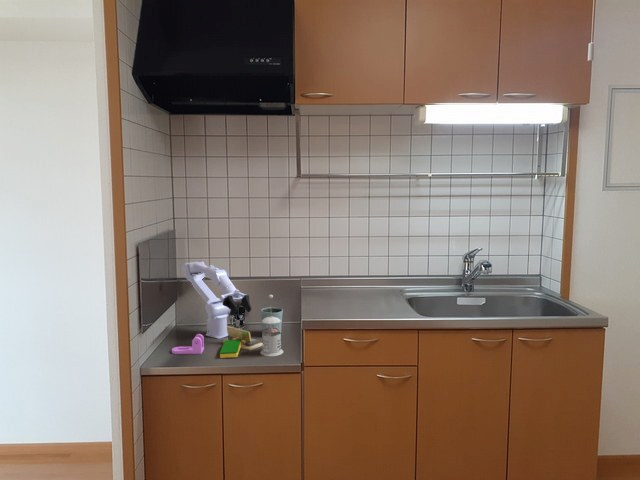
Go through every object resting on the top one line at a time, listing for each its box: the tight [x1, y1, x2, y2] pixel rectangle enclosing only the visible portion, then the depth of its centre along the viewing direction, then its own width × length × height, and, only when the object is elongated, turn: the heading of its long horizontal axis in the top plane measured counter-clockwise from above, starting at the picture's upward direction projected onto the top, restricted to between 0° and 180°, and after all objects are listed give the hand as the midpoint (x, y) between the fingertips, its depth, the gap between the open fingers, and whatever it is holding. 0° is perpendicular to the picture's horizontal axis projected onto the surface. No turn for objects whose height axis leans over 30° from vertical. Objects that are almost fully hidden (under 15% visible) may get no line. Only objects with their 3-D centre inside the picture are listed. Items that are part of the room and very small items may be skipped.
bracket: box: [171, 333, 205, 355], centre depth 209 cm, size 13×6×7 cm, turn 91°
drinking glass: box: [260, 306, 284, 336], centre depth 231 cm, size 10×10×12 cm
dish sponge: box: [219, 339, 242, 359], centre depth 208 cm, size 7×14×2 cm, turn 2°
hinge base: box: [220, 336, 263, 351], centre depth 219 cm, size 18×9×3 cm, turn 53°
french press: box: [259, 294, 284, 357], centre depth 208 cm, size 10×12×25 cm
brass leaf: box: [227, 325, 252, 344], centre depth 217 cm, size 14×7×2 cm
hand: (243, 310), depth 213 cm, fingers open, 7 cm apart
